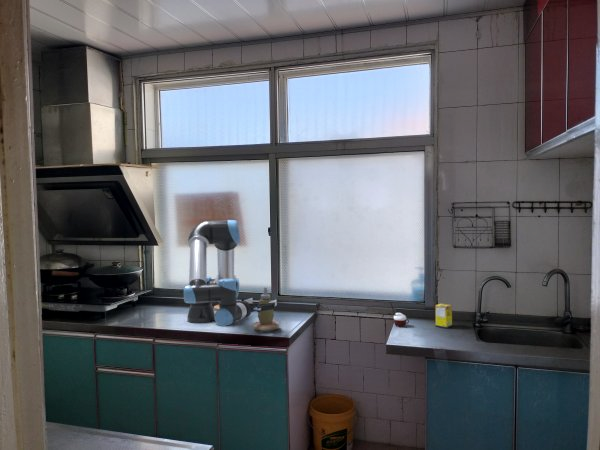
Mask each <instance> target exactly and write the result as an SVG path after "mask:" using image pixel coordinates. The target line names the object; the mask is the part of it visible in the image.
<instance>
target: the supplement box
mask: <svg viewBox="0 0 600 450" xmlns="http://www.w3.org/2000/svg"><path fill="white" fill-rule="evenodd" d="M434 306H435V309H434V310H435V312H434V313H435V328H442V329H448V328H451V327H452V326H453V311H452V310H453V309H452V308H453V306H452V304H449V303H448V304H446V303H438V304H435V305H434Z"/></svg>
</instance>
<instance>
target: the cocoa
mask: <svg viewBox="0 0 600 450" xmlns="http://www.w3.org/2000/svg"><path fill="white" fill-rule="evenodd" d="M389 304H390V307H391V311H392V312H393V323H394V325H395V326H396V327H397V326H398V328H403V327H406V326H407V325H408V324H409V322H410V319H408V318H407V316H406V315H405V314H403V313H401V312H395V310H394V306H393V305H392V304H393V303H392V302H389Z"/></svg>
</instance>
